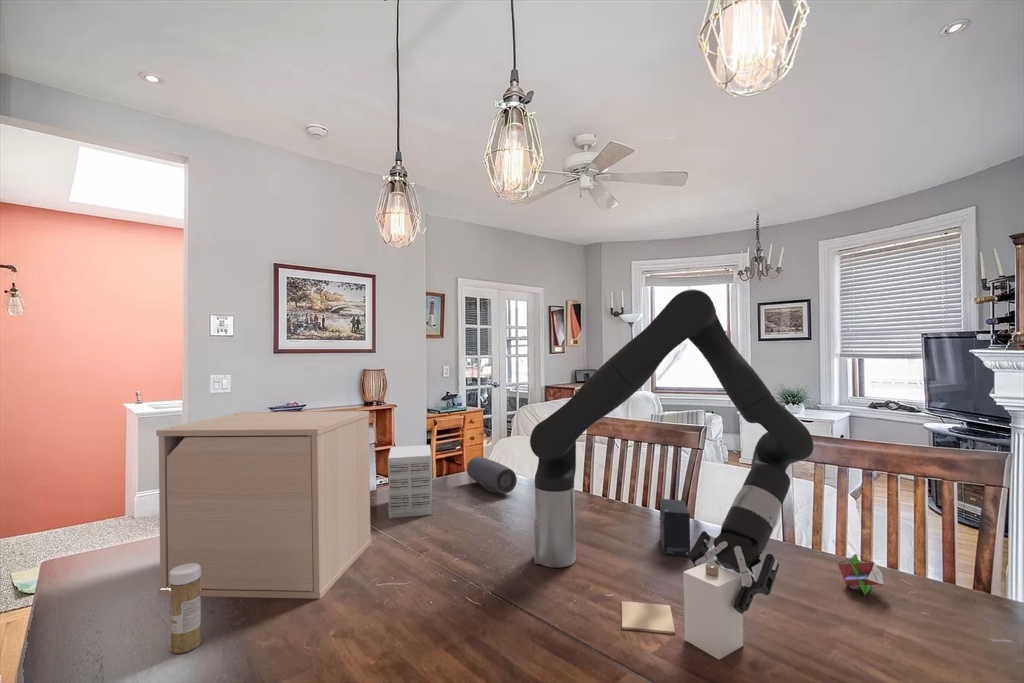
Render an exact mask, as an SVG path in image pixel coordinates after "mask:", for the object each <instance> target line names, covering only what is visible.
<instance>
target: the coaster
mask: <svg viewBox="0 0 1024 683" xmlns="http://www.w3.org/2000/svg"><path fill="white" fill-rule="evenodd" d="M621 630H627V631H628V630H630V631H638V632H639V631H640V632H650V633H651V632H652V633H660V634H669V635H670V634H671V635H676V629H675V624H674V619H673V613H672V609H671V605H669V604H660V603H648V602H647V603H646V602H635V601H625V600H622V601H621Z"/></svg>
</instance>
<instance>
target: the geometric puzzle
mask: <svg viewBox="0 0 1024 683" xmlns="http://www.w3.org/2000/svg"><path fill="white" fill-rule="evenodd" d="M859 558H862V560H864V557H863V556H862V555H859V554H857V553H854V554H853V555H851V557H848V558H847V559H845V560H844V563H843V561H842V562H840V563H838V564H837V565H838V569H839V570H840V573H841V577H842V580H843V581H844V583H845V585H846V587H849V588H851V589H852V588H855V591H856V592H858V593H859V594H863V596H866V595H867V594H869V591H870V590H872V589H874V588H875V589H876V588H877V589H878V588H880V587H882V586H884V585H885V583H884V577H883V576H884V575H883V572H882V571H881V570H880V569H879V567H878V565H877V564H876V563H875V562H874V561H869V562H868V561H867V560H864V562H861V561H860V560H859ZM845 562H848V563H845ZM857 586H859V587H860V588H861V590H862V592H863V593H861V591H859V590H858V589H857ZM872 586H874V587H872ZM872 592H873V590H872V591H870V593H872Z"/></svg>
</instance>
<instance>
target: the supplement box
mask: <svg viewBox="0 0 1024 683" xmlns="http://www.w3.org/2000/svg"><path fill="white" fill-rule="evenodd" d="M432 463H433V460H432V449H431V445H430V444H423V445H418V444H417V445H405V446H404V445H403V446H391V447H390V448H389V453H388V457H387V473H388V474H387V475H388V476H387V478H388V479H387V480H388V486H387V487H388V518H389V519H394V518H406V517H420V516H432V515H433V510H432V508H433V507H432V506H433V505H432V504H433V496H432V495H433V493H432V492H433V491H432V489H433V483H432V482H433V478H432V477H433V474H432V472H433V470H432V468H433V467H432Z"/></svg>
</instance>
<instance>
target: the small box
mask: <svg viewBox="0 0 1024 683" xmlns="http://www.w3.org/2000/svg"><path fill="white" fill-rule="evenodd" d="M659 516H660V517H659V519H660V520H659V525H660V526H659V540H660V545H661V549H662V553H663V555H665V556H677V557H678V556H679V557H688V555H689V554H690V552H691V519H690V518H691V517H690V516H691V515H690V511H689V509H688V506H687V504H686V502H685V500H683V499H682V500H681V499H679V500H678V499H668V498H659Z"/></svg>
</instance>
